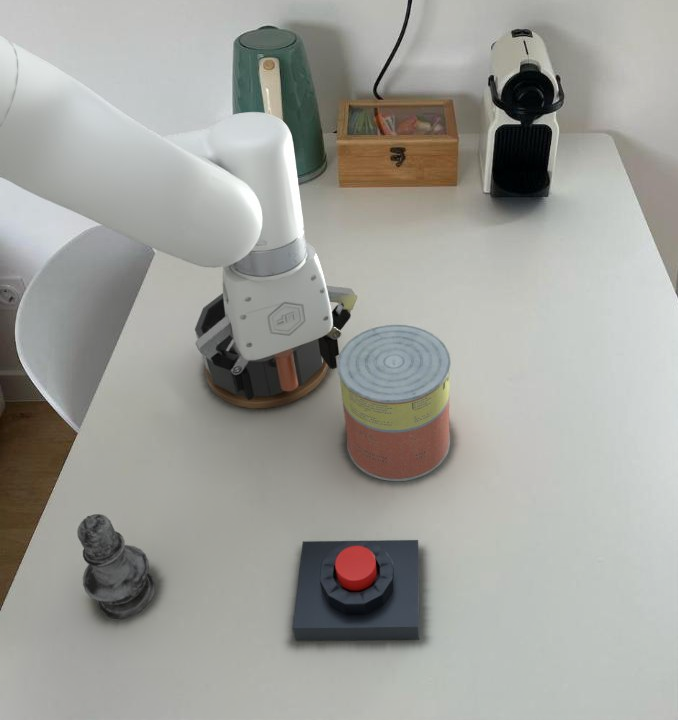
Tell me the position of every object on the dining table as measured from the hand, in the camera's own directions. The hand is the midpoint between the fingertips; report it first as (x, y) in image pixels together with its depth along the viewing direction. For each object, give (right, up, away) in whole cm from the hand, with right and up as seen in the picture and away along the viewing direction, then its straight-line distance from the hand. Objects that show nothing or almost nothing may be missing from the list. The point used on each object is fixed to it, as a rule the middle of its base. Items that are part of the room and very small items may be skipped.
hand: (288, 376), depth 89 cm
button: (+8, -17, -16) cm, 25 cm away
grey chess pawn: (-13, -20, -12) cm, 27 cm away
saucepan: (-3, +1, +8) cm, 9 cm away
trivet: (-4, +1, +10) cm, 11 cm away
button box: (+9, -20, -13) cm, 26 cm away
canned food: (+12, -7, +1) cm, 14 cm away
